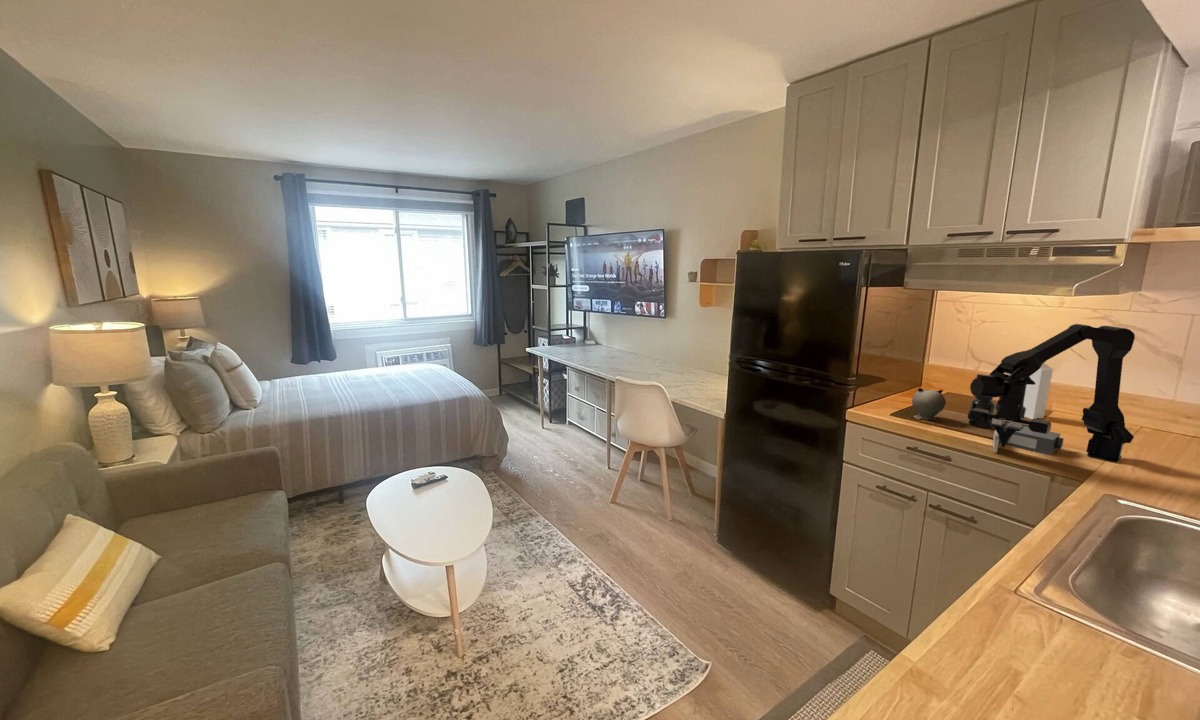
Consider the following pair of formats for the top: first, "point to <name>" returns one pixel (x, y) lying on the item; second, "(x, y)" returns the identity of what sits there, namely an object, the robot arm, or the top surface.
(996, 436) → the side door
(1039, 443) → the grey rectangular box
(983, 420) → the supplement bottle
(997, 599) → the top surface
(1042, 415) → the milk
